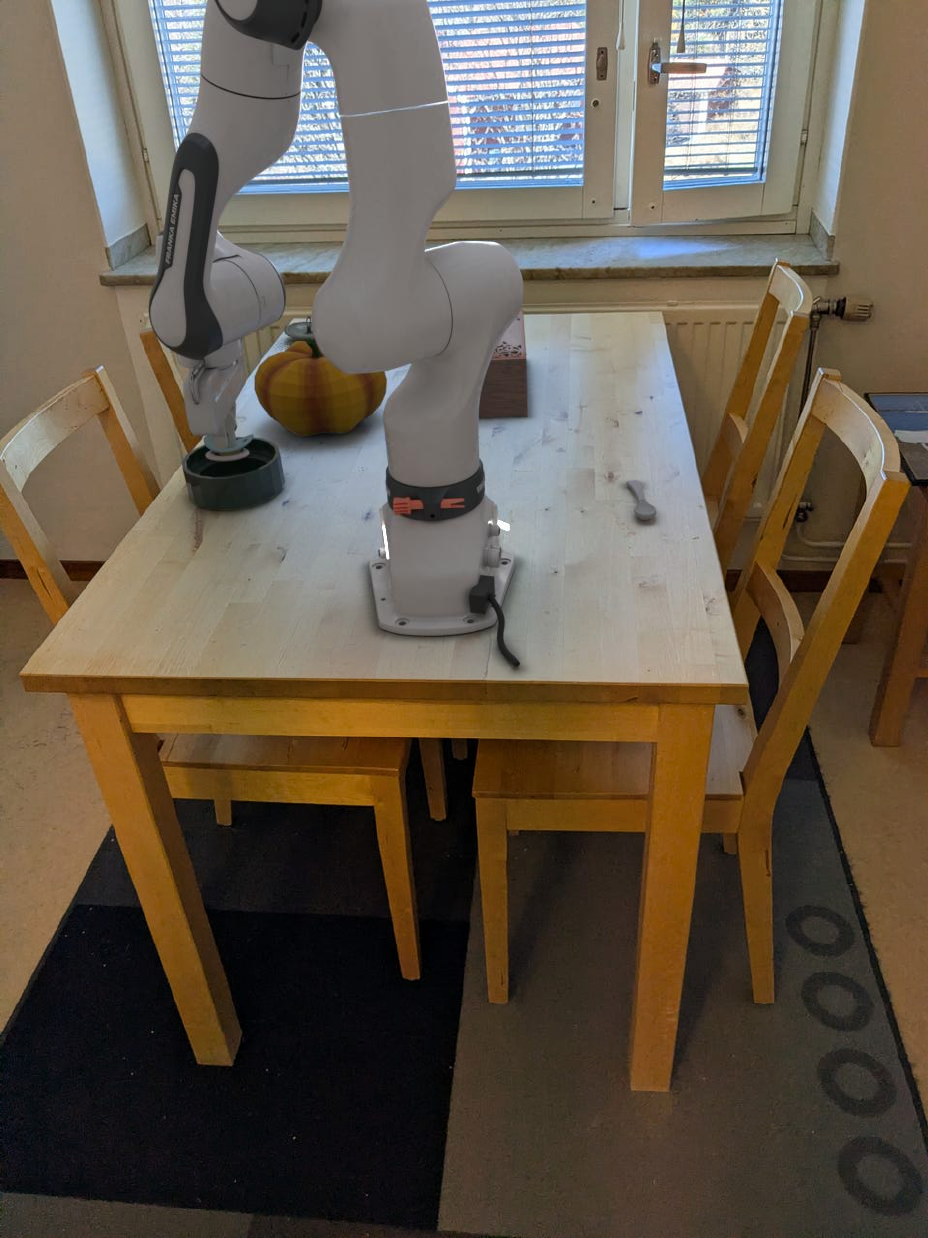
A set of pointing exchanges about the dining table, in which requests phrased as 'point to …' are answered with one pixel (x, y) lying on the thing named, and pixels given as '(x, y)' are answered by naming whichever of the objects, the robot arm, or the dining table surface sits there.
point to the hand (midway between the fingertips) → (227, 438)
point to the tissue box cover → (507, 376)
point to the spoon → (641, 502)
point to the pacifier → (234, 446)
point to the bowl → (234, 476)
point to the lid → (300, 330)
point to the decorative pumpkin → (315, 391)
